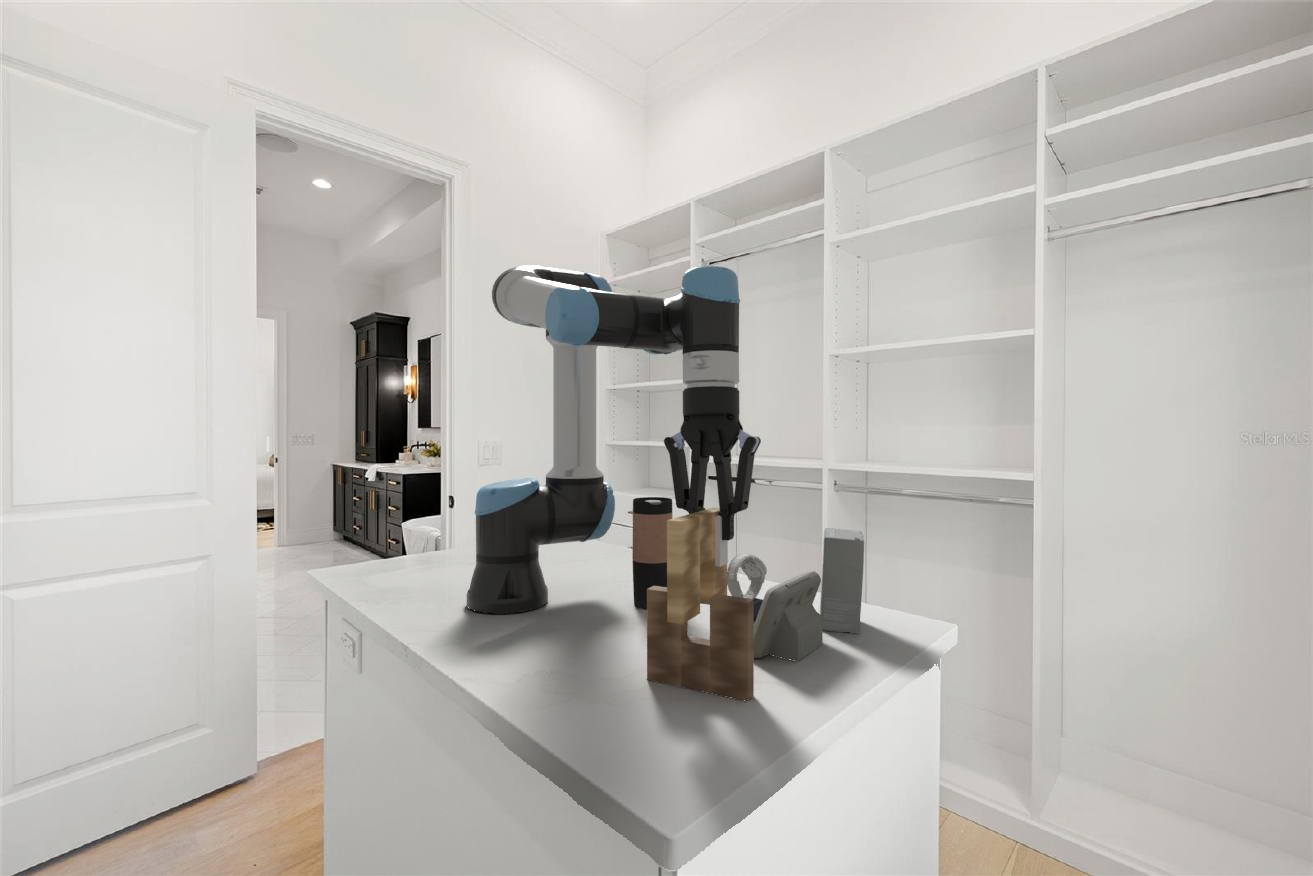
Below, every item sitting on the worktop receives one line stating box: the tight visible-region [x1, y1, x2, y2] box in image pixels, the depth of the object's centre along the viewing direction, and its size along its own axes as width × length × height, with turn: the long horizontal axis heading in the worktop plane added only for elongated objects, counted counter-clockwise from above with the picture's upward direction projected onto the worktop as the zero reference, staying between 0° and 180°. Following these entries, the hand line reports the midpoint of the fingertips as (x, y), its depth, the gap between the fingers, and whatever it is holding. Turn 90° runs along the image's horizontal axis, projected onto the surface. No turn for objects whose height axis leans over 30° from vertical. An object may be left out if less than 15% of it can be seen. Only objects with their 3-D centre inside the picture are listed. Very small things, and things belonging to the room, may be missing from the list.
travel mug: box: [632, 496, 673, 611], centre depth 115 cm, size 8×8×20 cm
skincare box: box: [819, 527, 865, 635], centre depth 103 cm, size 8×7×16 cm
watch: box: [727, 553, 768, 623], centre depth 108 cm, size 6×8×11 cm
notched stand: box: [646, 586, 755, 702], centre depth 78 cm, size 14×2×12 cm, turn 62°
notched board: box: [667, 507, 728, 624], centre depth 78 cm, size 14×2×12 cm, turn 152°
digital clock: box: [754, 571, 823, 662], centre depth 92 cm, size 16×9×11 cm, turn 131°
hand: (711, 563), depth 81 cm, fingers closed on notched board, 2 cm apart
